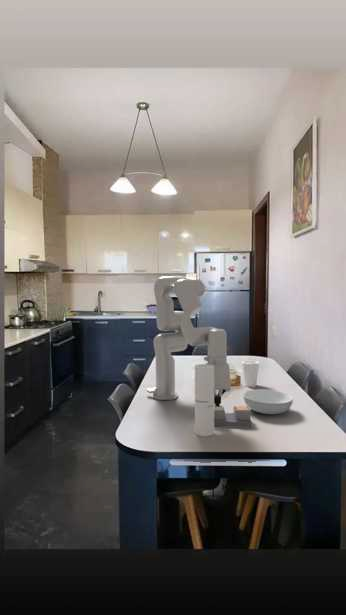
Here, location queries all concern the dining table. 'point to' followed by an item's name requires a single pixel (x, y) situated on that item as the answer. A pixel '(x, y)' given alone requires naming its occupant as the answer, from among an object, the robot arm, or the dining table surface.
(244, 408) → the key terracotta
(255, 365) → the foam cup
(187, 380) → the dining table surface
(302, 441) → the dining table surface
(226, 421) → the key panel
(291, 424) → the dining table surface
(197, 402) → the cylindrical container
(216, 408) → the key ivory
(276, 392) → the serving bowl
